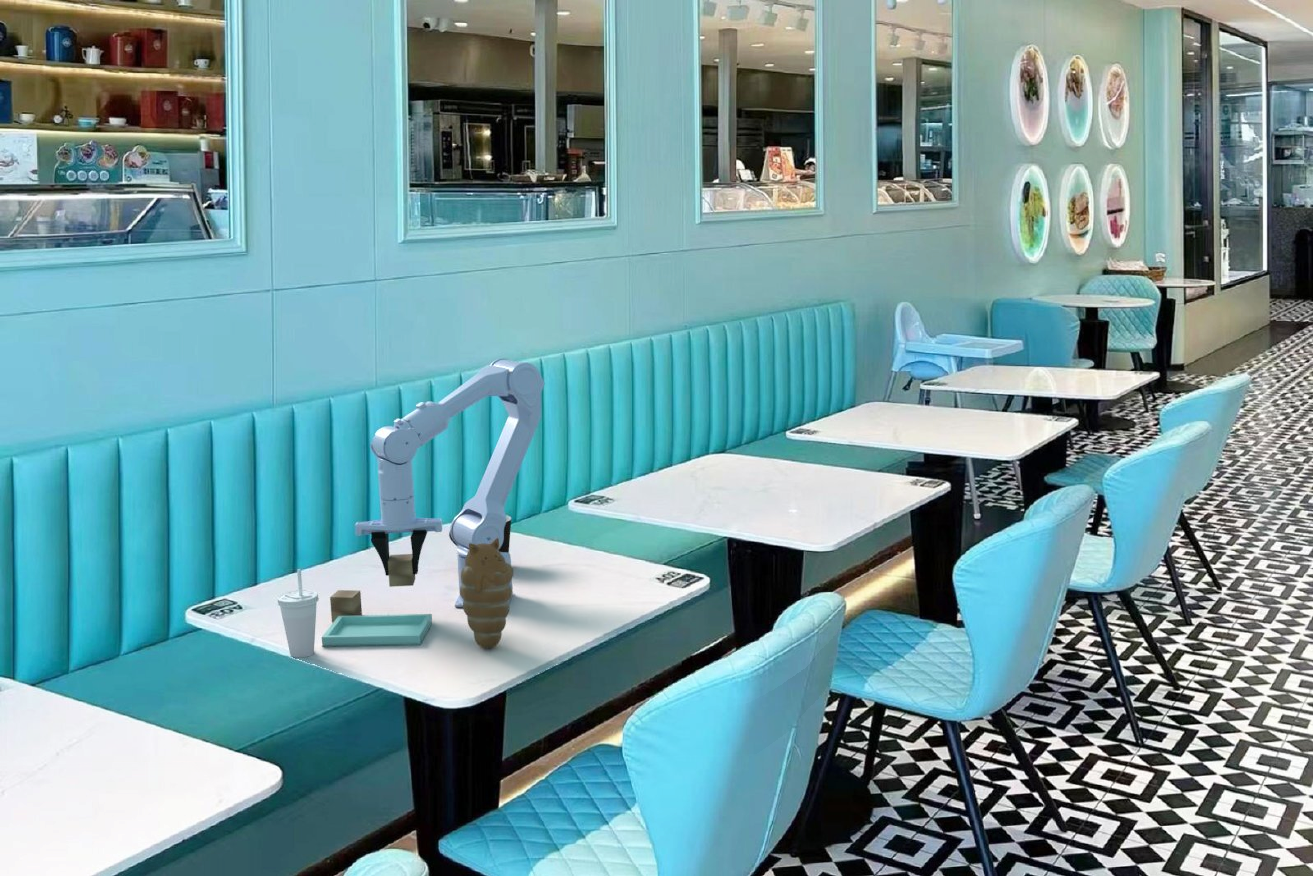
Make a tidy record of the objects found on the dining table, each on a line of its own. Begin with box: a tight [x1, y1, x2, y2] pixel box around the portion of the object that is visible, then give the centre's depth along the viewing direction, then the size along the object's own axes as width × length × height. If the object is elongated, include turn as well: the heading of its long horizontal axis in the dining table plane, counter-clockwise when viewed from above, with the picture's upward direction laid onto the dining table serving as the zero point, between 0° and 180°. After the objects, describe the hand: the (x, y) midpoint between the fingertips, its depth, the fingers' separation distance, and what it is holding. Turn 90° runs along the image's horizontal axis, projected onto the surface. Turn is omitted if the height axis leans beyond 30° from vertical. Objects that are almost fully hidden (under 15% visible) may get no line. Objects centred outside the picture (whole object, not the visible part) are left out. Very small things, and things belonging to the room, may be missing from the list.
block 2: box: [388, 553, 416, 588], centre depth 227 cm, size 4×4×4 cm
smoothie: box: [276, 568, 320, 658], centre depth 210 cm, size 6×6×14 cm
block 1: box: [329, 589, 363, 623], centre depth 228 cm, size 4×4×4 cm
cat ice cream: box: [459, 538, 514, 649], centre depth 211 cm, size 9×8×18 cm
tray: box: [321, 613, 433, 648], centre depth 220 cm, size 16×11×2 cm
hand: (402, 573), depth 227 cm, fingers closed on block 2, 4 cm apart
